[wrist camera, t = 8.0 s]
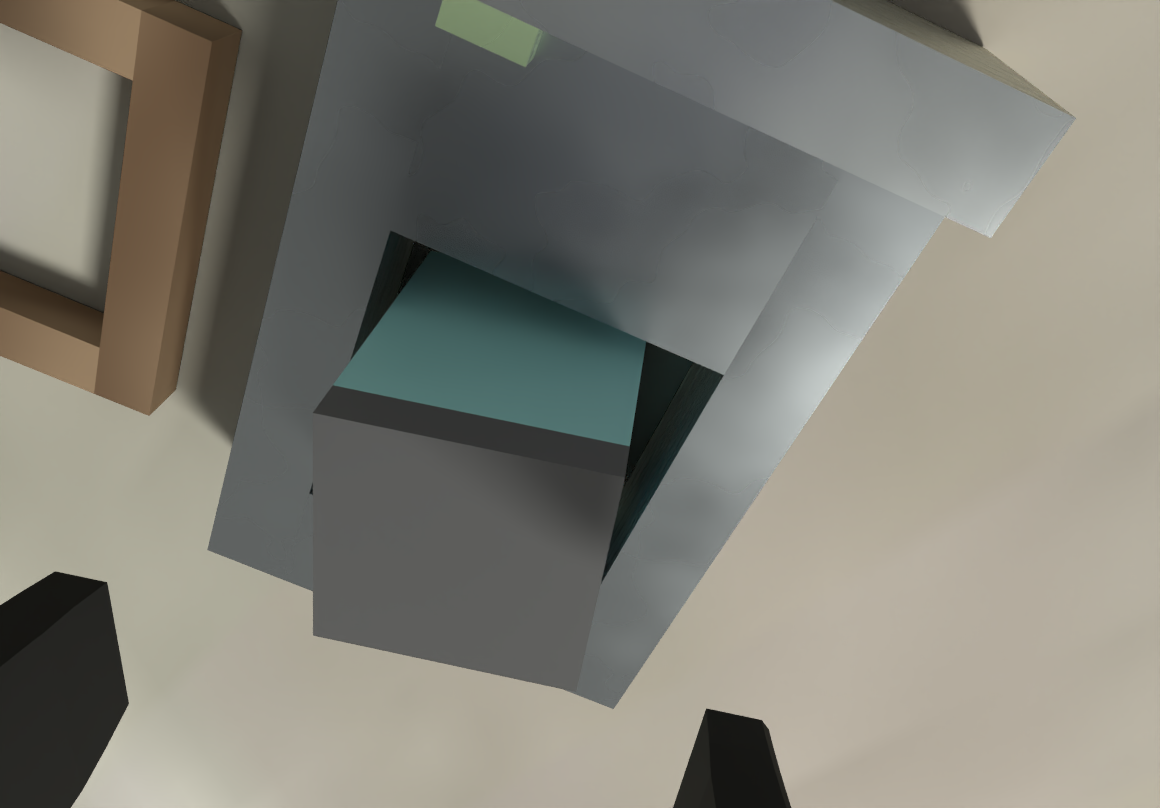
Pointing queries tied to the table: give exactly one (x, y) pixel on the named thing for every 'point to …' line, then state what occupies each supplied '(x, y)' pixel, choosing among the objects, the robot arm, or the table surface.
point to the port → (628, 231)
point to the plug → (472, 477)
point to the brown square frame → (133, 196)
